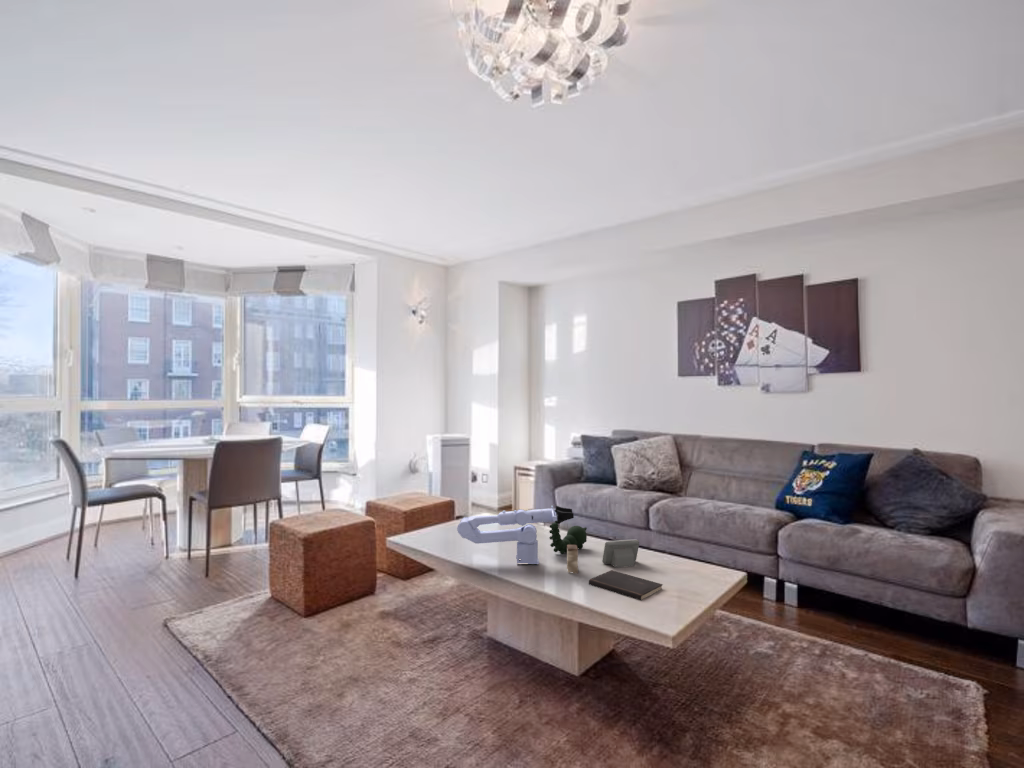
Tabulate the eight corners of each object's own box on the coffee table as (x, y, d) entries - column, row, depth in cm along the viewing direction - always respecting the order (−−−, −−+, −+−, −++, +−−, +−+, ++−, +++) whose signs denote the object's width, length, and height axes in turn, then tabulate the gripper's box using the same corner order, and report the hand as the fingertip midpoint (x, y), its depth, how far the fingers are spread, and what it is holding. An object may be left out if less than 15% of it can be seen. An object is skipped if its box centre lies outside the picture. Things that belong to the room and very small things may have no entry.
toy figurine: (561, 562, 233) (595, 546, 250) (559, 521, 232) (593, 507, 249) (546, 558, 239) (579, 542, 257) (543, 517, 238) (577, 504, 256)
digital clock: (636, 560, 230) (636, 536, 231) (642, 567, 221) (642, 542, 222) (600, 561, 230) (600, 537, 230) (604, 567, 221) (604, 542, 221)
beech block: (568, 573, 214) (568, 548, 214) (567, 568, 220) (567, 544, 220) (577, 573, 214) (577, 548, 214) (576, 568, 220) (576, 544, 220)
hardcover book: (611, 575, 213) (611, 569, 213) (662, 590, 197) (662, 584, 197) (588, 585, 202) (588, 579, 202) (640, 602, 185) (640, 595, 186)
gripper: (541, 510, 221) (573, 507, 220) (540, 503, 235) (570, 500, 235) (543, 526, 221) (574, 524, 220) (542, 518, 235) (572, 516, 235)
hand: (572, 513), depth 227 cm, fingers open, 7 cm apart
